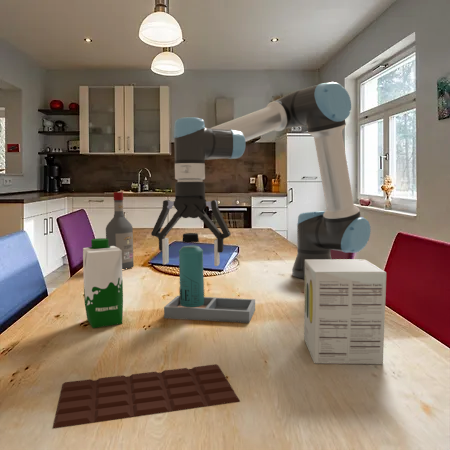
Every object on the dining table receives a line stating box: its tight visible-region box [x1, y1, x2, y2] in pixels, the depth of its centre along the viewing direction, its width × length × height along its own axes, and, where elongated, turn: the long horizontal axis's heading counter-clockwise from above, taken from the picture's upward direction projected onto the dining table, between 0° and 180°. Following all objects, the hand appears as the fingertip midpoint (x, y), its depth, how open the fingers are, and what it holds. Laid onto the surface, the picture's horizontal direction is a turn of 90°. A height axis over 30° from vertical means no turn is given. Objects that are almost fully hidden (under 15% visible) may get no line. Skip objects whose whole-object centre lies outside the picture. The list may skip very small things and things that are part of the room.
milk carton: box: [82, 237, 124, 329], centre depth 104 cm, size 9×9×20 cm
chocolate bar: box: [52, 363, 241, 429], centre depth 70 cm, size 27×14×1 cm, turn 105°
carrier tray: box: [163, 295, 256, 324], centre depth 111 cm, size 21×11×3 cm, turn 79°
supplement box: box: [303, 258, 387, 365], centre depth 86 cm, size 13×13×18 cm
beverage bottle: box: [178, 232, 206, 307], centre depth 111 cm, size 6×7×20 cm
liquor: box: [105, 191, 135, 269], centre depth 170 cm, size 9×9×30 cm
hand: (191, 264), depth 111 cm, fingers open, 13 cm apart
